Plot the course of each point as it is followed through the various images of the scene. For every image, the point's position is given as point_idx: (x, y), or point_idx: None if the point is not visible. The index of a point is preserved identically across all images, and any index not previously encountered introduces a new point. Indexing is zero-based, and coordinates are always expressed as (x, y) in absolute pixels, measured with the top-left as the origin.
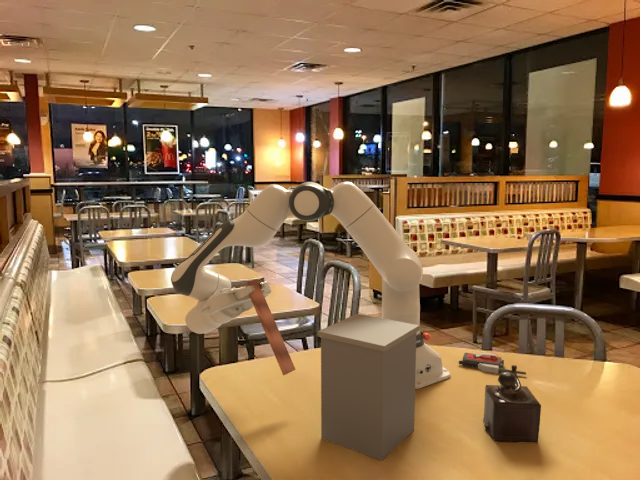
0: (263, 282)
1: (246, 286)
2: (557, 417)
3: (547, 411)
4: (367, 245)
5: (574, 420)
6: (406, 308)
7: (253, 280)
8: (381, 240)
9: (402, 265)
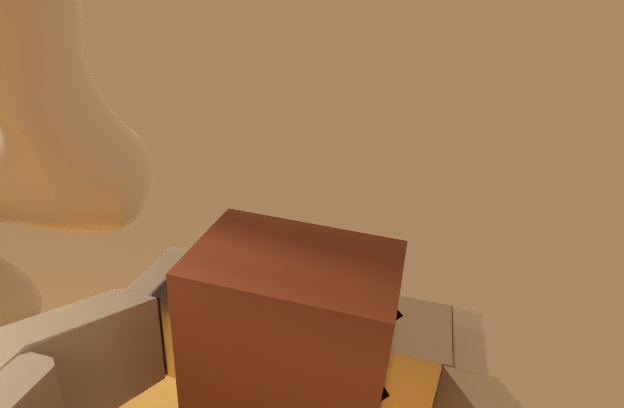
0: (185, 250)
1: (385, 357)
2: (169, 385)
3: (150, 387)
4: (56, 66)
5: (175, 378)
6: (36, 285)
7: (304, 228)
8: (87, 64)
9: (150, 156)
